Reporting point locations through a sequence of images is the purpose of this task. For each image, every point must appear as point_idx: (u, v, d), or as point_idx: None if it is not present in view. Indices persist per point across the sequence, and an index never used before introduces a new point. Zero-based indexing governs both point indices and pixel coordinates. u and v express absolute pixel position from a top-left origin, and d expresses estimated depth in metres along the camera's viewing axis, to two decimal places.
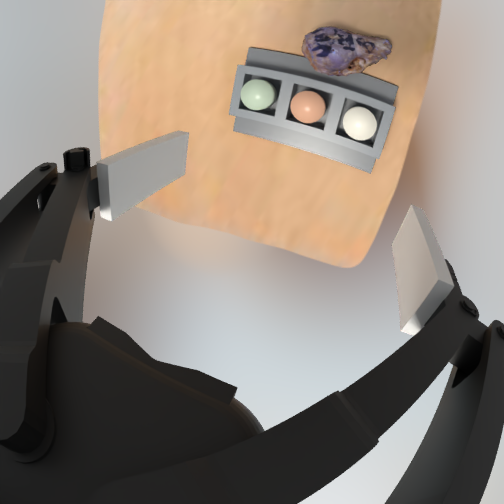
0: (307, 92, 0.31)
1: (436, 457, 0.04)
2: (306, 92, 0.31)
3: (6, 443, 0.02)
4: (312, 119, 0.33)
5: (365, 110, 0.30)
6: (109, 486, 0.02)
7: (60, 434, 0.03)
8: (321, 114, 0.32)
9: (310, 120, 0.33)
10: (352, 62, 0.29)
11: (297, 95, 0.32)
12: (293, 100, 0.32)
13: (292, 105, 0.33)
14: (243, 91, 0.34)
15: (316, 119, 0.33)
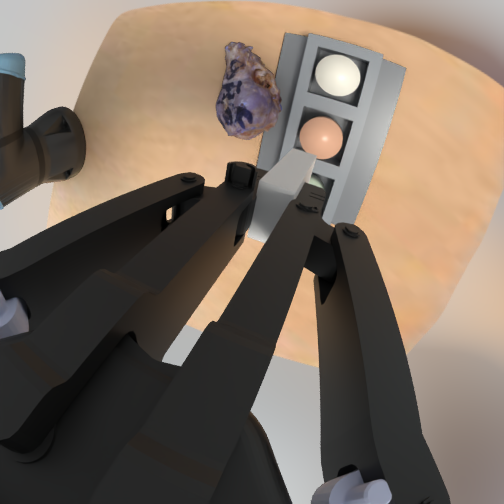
0: (301, 136, 0.27)
1: (340, 381, 0.06)
2: (301, 137, 0.27)
3: None
4: (337, 134, 0.26)
5: (318, 67, 0.22)
6: (109, 486, 0.02)
7: (47, 461, 0.02)
8: (330, 122, 0.25)
9: (338, 136, 0.26)
10: (261, 83, 0.27)
11: (305, 149, 0.27)
12: None
13: (319, 156, 0.27)
14: None
15: (337, 128, 0.25)
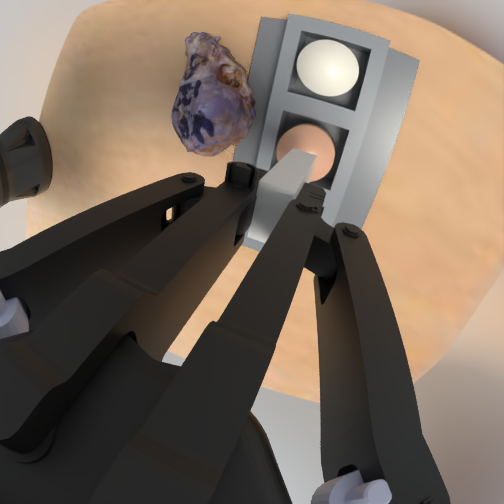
0: (279, 152, 0.21)
1: (340, 381, 0.06)
2: (279, 153, 0.21)
3: None
4: (327, 148, 0.19)
5: (301, 58, 0.16)
6: (109, 486, 0.02)
7: (47, 461, 0.02)
8: (317, 131, 0.19)
9: (328, 152, 0.19)
10: (229, 82, 0.21)
11: None
12: None
13: None
14: None
15: (326, 141, 0.19)
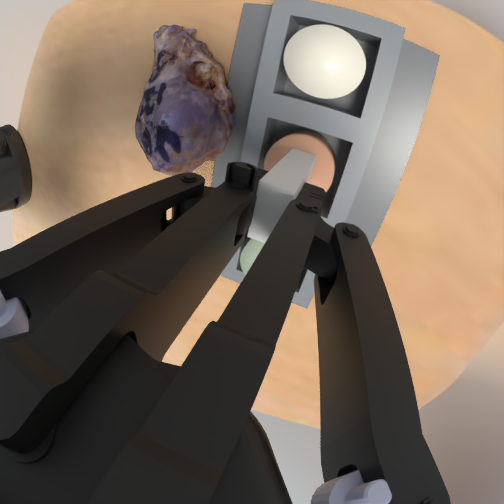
0: (267, 167, 0.17)
1: (340, 381, 0.06)
2: (267, 169, 0.17)
3: None
4: (325, 163, 0.16)
5: (289, 49, 0.12)
6: (109, 486, 0.02)
7: (47, 461, 0.02)
8: (313, 142, 0.16)
9: (326, 167, 0.16)
10: (203, 83, 0.17)
11: None
12: None
13: None
14: None
15: (325, 154, 0.16)
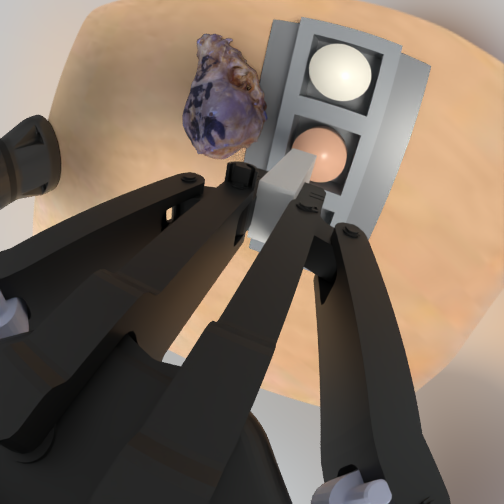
0: None
1: (340, 381, 0.06)
2: None
3: None
4: (339, 150, 0.20)
5: (313, 61, 0.16)
6: (109, 486, 0.02)
7: (47, 461, 0.02)
8: (330, 134, 0.20)
9: (340, 154, 0.20)
10: (241, 84, 0.21)
11: None
12: None
13: (316, 178, 0.22)
14: None
15: (339, 143, 0.20)
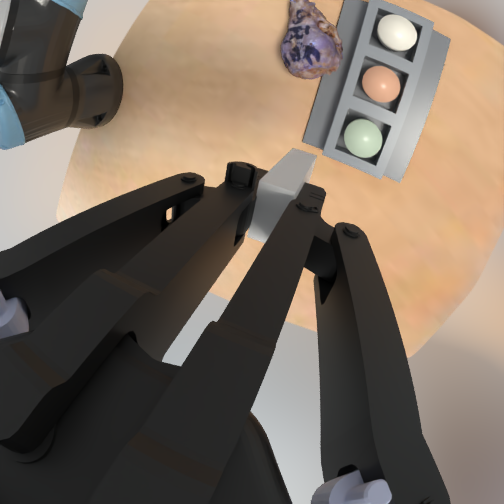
0: (364, 80, 0.25)
1: (340, 381, 0.06)
2: (364, 81, 0.25)
3: None
4: (395, 81, 0.24)
5: (381, 23, 0.20)
6: (109, 486, 0.02)
7: (47, 461, 0.02)
8: (389, 70, 0.23)
9: (396, 84, 0.24)
10: (324, 33, 0.24)
11: (367, 91, 0.26)
12: (373, 97, 0.26)
13: (379, 99, 0.26)
14: (356, 152, 0.29)
15: (395, 77, 0.23)
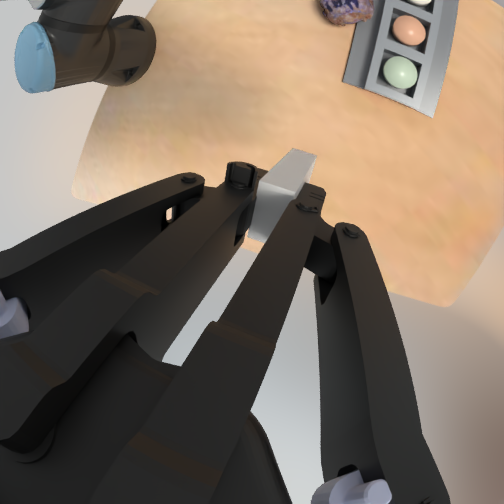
0: (395, 26, 0.23)
1: (340, 381, 0.06)
2: (395, 27, 0.23)
3: None
4: (421, 28, 0.22)
5: None
6: (109, 486, 0.02)
7: (47, 461, 0.02)
8: (415, 19, 0.21)
9: (422, 30, 0.22)
10: None
11: (399, 35, 0.24)
12: (404, 39, 0.24)
13: (409, 41, 0.24)
14: (397, 84, 0.27)
15: (420, 24, 0.21)
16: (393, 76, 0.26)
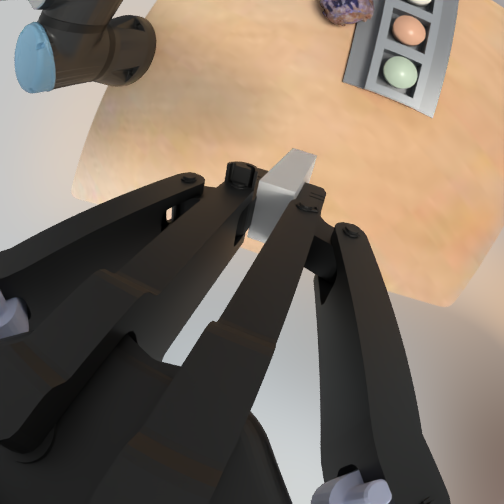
0: (395, 26, 0.23)
1: (340, 381, 0.06)
2: (395, 27, 0.23)
3: None
4: (421, 28, 0.22)
5: None
6: (109, 486, 0.02)
7: (47, 461, 0.02)
8: (415, 19, 0.21)
9: (422, 30, 0.22)
10: None
11: (399, 35, 0.24)
12: (404, 39, 0.24)
13: (409, 41, 0.24)
14: (397, 84, 0.27)
15: (420, 24, 0.21)
16: (393, 76, 0.26)
